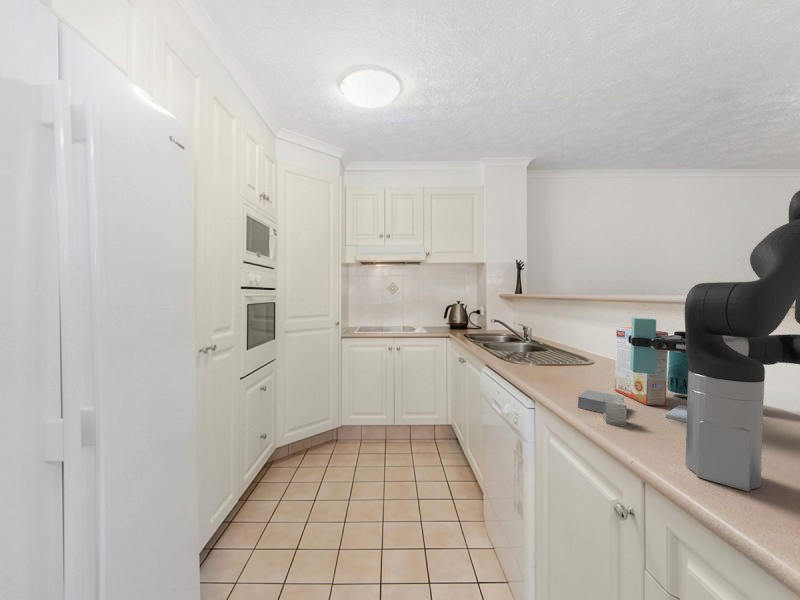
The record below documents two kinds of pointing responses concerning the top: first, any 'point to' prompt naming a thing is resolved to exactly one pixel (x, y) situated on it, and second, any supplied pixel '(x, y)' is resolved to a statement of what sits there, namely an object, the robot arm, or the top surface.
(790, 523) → the top surface
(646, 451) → the top surface
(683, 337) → the beverage bottle
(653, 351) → the teal block
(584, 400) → the block
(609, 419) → the small grey block
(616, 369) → the cracker box
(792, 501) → the top surface
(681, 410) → the dish cloth
